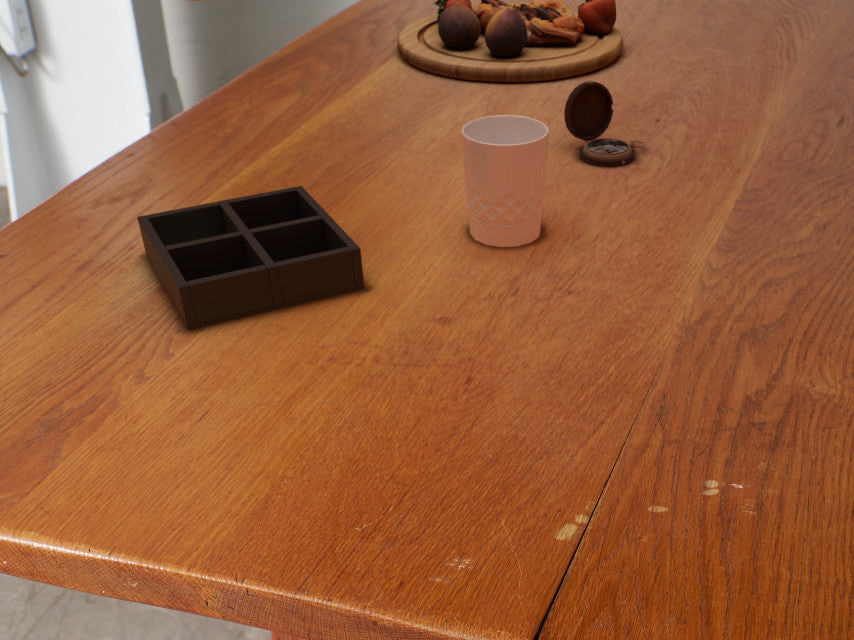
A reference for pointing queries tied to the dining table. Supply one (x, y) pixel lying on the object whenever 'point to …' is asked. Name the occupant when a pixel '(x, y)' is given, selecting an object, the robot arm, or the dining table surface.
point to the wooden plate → (513, 40)
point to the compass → (596, 126)
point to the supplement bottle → (194, 0)
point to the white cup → (505, 178)
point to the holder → (250, 256)
